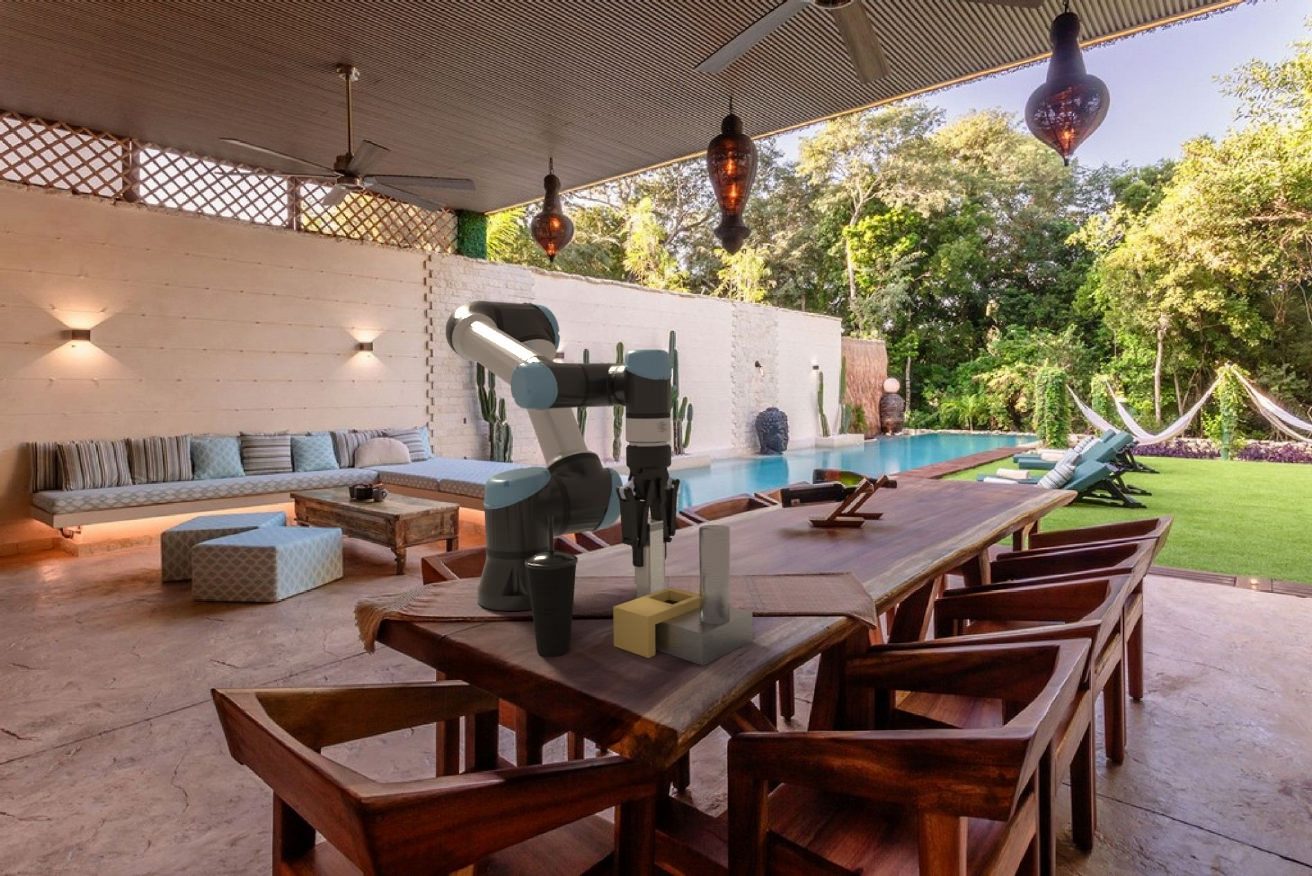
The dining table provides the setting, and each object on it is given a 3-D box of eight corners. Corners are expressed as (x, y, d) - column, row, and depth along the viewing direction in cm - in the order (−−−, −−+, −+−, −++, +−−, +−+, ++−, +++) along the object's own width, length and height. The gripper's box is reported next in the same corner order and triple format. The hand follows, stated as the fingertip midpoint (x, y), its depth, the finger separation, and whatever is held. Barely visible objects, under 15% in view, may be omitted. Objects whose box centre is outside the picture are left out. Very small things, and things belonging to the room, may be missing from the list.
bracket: (613, 646, 105) (613, 606, 105) (671, 623, 115) (670, 587, 114) (648, 658, 101) (647, 617, 100) (705, 633, 110) (704, 595, 110)
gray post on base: (625, 639, 108) (624, 523, 106) (676, 619, 117) (675, 511, 115) (702, 665, 98) (702, 537, 96) (752, 641, 107) (752, 523, 105)
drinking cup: (534, 664, 99) (530, 523, 97) (522, 645, 106) (518, 514, 104) (586, 655, 102) (583, 518, 100) (571, 637, 109) (568, 509, 107)
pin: (636, 614, 119) (635, 521, 118) (649, 610, 122) (648, 518, 120) (651, 618, 117) (650, 523, 116) (664, 614, 119) (663, 520, 118)
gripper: (630, 448, 108) (632, 598, 110) (697, 441, 120) (697, 576, 122) (597, 446, 113) (599, 589, 115) (664, 438, 125) (665, 568, 127)
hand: (650, 582), depth 119 cm, fingers closed on pin, 3 cm apart
